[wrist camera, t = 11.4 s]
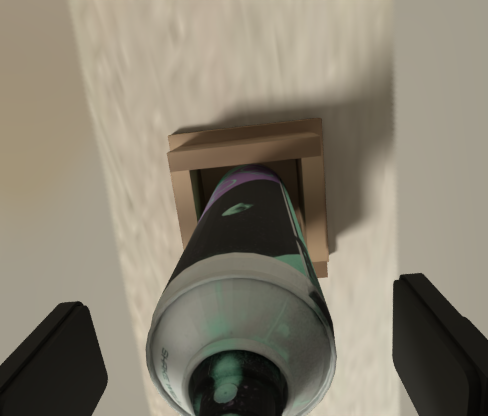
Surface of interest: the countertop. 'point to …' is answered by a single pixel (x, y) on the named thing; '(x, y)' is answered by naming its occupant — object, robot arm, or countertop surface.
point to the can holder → (260, 152)
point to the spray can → (243, 310)
